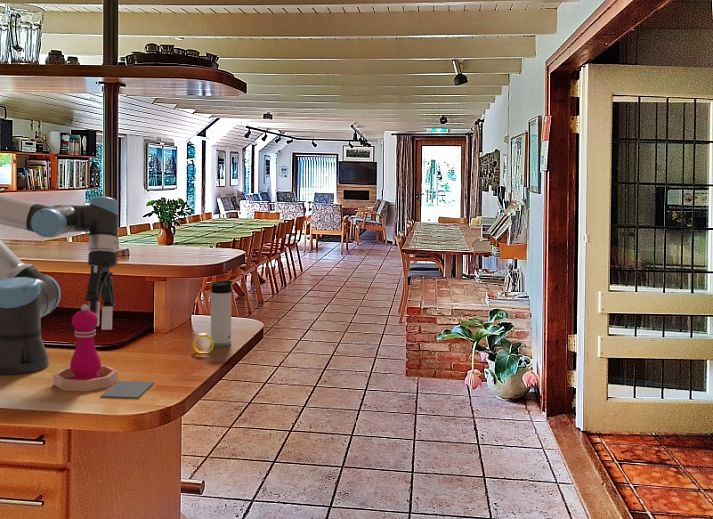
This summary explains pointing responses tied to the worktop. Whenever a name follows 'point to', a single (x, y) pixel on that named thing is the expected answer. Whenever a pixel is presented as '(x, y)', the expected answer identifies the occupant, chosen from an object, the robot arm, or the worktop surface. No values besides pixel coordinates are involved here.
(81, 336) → the pepper mill
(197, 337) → the watch
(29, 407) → the worktop surface
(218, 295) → the travel mug
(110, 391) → the mat
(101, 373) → the octagonal frame ring
